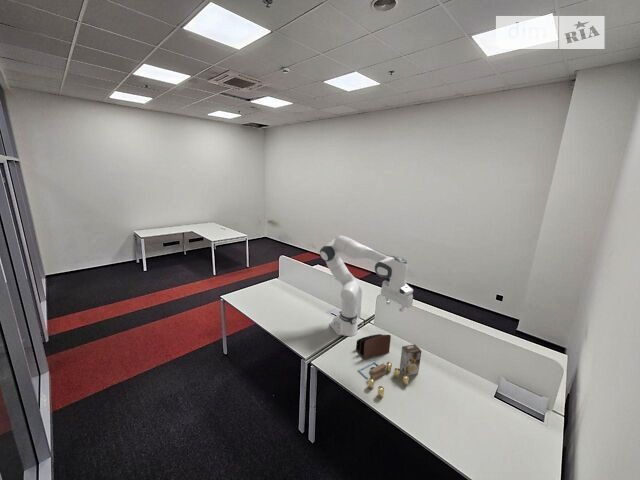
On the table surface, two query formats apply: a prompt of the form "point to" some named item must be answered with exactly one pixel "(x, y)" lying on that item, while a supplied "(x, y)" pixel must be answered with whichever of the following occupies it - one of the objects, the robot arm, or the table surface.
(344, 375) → the table surface
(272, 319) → the table surface
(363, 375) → the bay
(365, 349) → the letter holder
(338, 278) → the robot arm
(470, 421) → the table surface
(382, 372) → the brown flat block
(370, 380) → the spacers
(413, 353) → the coffee box
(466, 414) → the table surface
